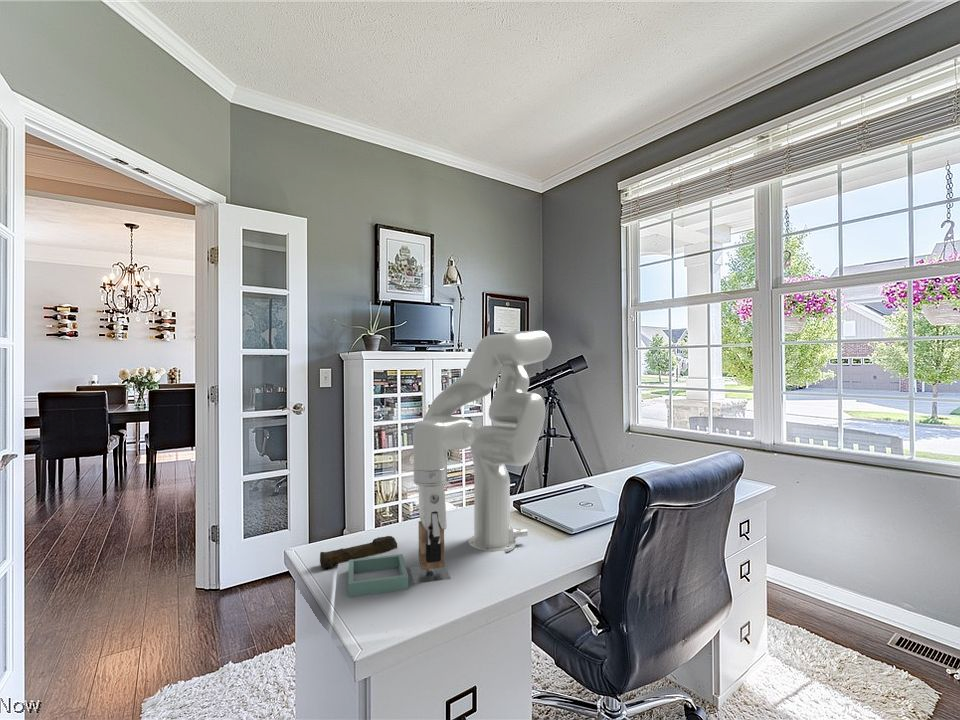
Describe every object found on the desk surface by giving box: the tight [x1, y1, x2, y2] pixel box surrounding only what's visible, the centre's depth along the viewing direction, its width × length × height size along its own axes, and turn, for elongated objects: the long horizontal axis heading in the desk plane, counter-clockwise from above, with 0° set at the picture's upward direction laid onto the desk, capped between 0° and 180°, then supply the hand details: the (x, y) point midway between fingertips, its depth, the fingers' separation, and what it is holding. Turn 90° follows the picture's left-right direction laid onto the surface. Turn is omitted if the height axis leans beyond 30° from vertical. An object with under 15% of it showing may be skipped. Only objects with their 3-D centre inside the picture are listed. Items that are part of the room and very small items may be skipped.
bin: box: [347, 553, 409, 598], centre depth 98 cm, size 12×12×4 cm
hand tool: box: [319, 535, 398, 571], centre depth 110 cm, size 19×4×5 cm, turn 119°
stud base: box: [409, 564, 451, 585], centre depth 101 cm, size 8×8×4 cm
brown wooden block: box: [417, 520, 445, 570], centre depth 101 cm, size 5×5×9 cm
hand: (431, 555), depth 101 cm, fingers closed on brown wooden block, 5 cm apart
